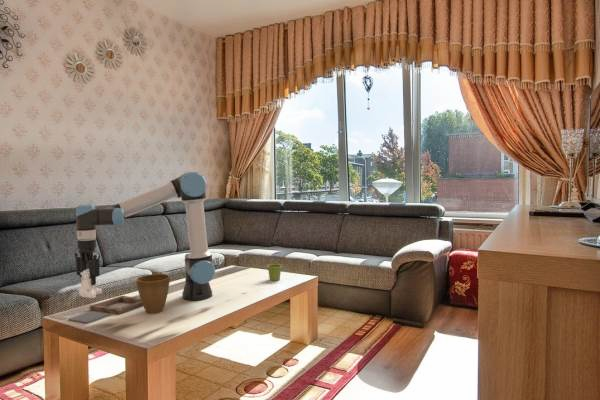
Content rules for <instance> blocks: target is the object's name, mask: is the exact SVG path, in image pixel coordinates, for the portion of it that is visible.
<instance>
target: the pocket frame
mask: <svg viewBox="0 0 600 400" xmlns="http://www.w3.org/2000/svg"><path fill="white" fill-rule="evenodd" d="M121 302H125V303H130V304H128V305H124V306H123V307H114V306H111V305H115V304H118V303H121ZM142 307H144V306H143V304H142V301H141V298H140V297H135V296H129V295H128V296H127V295H120V296H119V295H118V296H117V297H113V298H111V299H108V300H105V301H101V302H98V303H95V304H91V305H89V310H90V311H96V312H102V313H108V314H111V315H112V314H114V315H117V316H118V315H119V316H121V315H123V314H126V313H128V312H131V311H133V310H136V309H139V308H142Z"/></svg>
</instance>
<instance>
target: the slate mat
mask: <svg viewBox="0 0 600 400" xmlns="http://www.w3.org/2000/svg"><path fill="white" fill-rule="evenodd" d="M111 315H112V313H106V312H99V311H93V310H90V311H87V312H84V313H82V314H79V315H76V316H73V317H69V318H68V319H67V320H68V321H73V322H76V321H77V323H82V322H84V323H83V324H90V323H93V322H95V321H99V320H101V319H104V318H107V317H109V316H111Z"/></svg>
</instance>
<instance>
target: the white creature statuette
mask: <svg viewBox="0 0 600 400" xmlns="http://www.w3.org/2000/svg"><path fill="white" fill-rule="evenodd" d="M80 274H81V275H82V277H83V278H84V280H83V282H82V286H81V285H80V287H79V288H78V294H79V296H80V297H82V298H85V299H86V298H88V299H95V298H96V297H97V295H100V294H101V295H103V289H102V288H99V287H95V288H96V291H95V292H94V290H91V292H89V286H90V284H89V277H90V274H89V269H88V268H87V269H86V270H84V271H83V272H81V273H80Z"/></svg>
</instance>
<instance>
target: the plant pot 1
mask: <svg viewBox="0 0 600 400" xmlns="http://www.w3.org/2000/svg"><path fill="white" fill-rule="evenodd" d="M170 278H171V276H170V275H169V274H166V273H156V274H155V273H154V274H147V275H146V274H145V275H143V276H139V277H137V278H136V279H135V282H136V286H137V287H136V288H137V291H138V294H139V298H141V301H142V304H143V306H142V307H143V308H144V310H145V312H146V314H150V315H153V314H154V315H155V314H159V313H162V312H163V311H164V309H165V307H166V306H165V305H166V302H167V298H168V293H169V288H170Z"/></svg>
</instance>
